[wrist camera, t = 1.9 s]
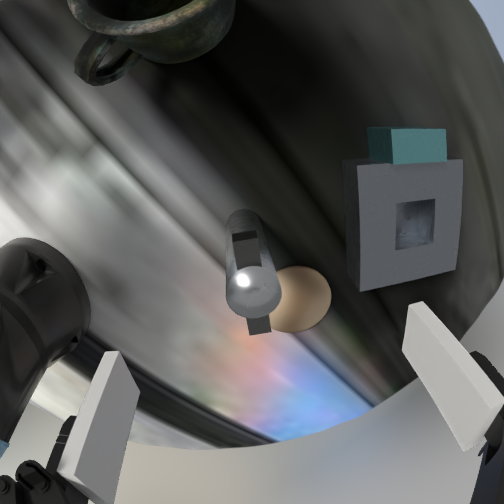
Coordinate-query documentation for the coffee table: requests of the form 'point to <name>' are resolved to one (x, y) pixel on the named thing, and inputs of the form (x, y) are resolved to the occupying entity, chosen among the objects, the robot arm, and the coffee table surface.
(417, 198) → the block
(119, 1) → the mug
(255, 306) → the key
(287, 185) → the coffee table surface
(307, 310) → the coaster
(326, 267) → the coffee table surface
